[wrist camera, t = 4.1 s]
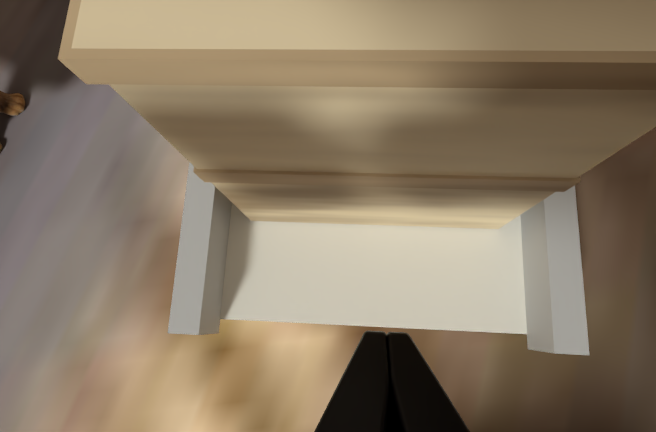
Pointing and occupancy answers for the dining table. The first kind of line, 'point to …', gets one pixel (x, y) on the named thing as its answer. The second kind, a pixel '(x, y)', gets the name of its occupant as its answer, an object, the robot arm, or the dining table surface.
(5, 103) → the lion figurine
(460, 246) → the box
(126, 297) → the dining table surface
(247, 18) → the cream flanged block
